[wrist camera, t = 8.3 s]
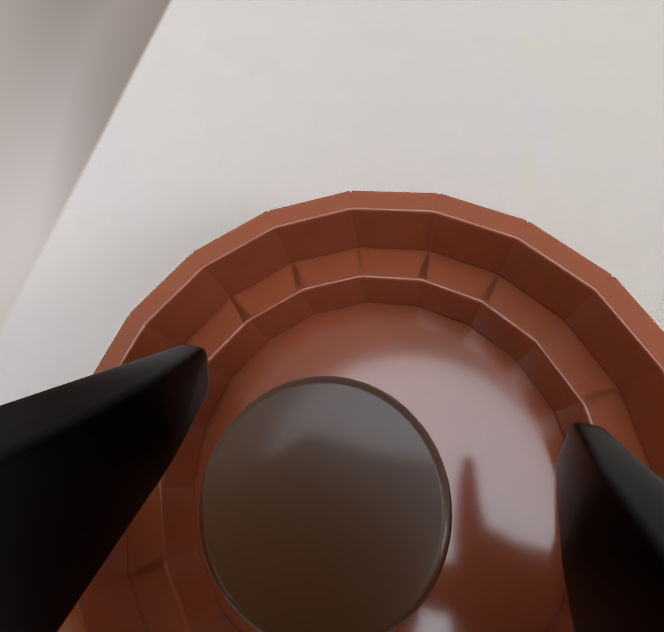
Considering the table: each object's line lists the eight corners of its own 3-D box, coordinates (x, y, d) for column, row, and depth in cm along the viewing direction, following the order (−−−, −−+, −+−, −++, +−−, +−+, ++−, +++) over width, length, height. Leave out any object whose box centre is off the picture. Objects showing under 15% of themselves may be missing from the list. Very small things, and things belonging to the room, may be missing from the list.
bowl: (402, 926, 11) (404, 1252, 6) (77, 490, 16) (-61, 495, 11) (731, 470, 13) (913, 466, 9) (360, 201, 18) (346, 102, 13)
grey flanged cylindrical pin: (381, 582, 13) (327, 870, 3) (290, 486, 14) (65, 508, 5) (464, 481, 13) (613, 494, 4) (370, 397, 14) (314, 254, 5)
